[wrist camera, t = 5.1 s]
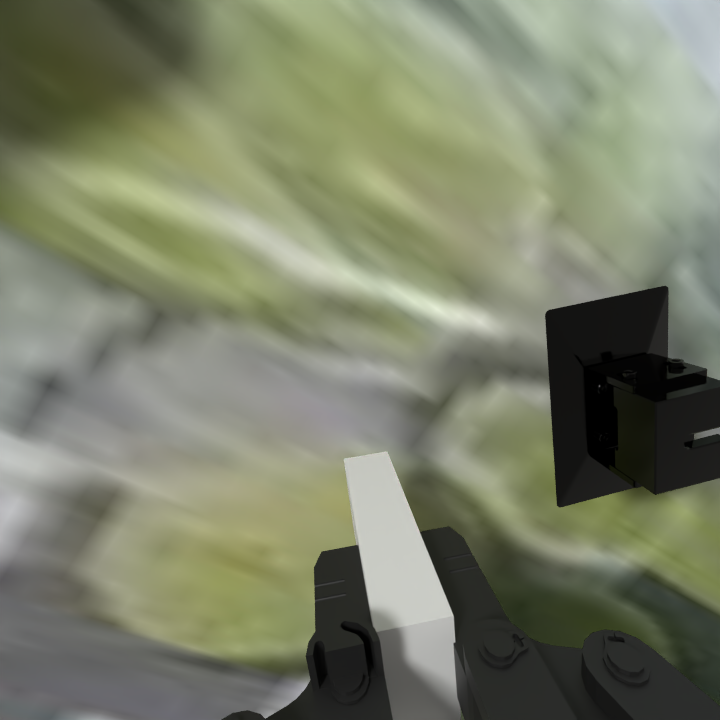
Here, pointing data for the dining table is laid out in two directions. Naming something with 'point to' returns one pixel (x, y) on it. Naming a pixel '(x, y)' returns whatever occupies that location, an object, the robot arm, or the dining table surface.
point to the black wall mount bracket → (626, 401)
